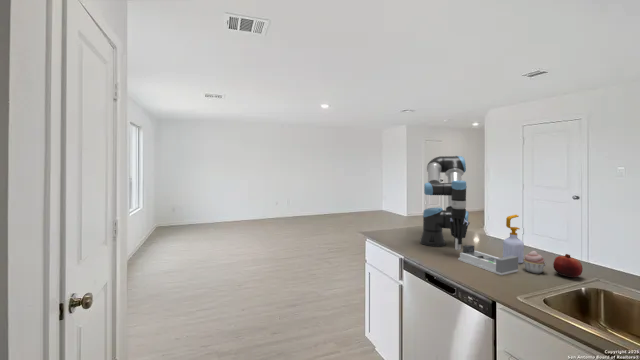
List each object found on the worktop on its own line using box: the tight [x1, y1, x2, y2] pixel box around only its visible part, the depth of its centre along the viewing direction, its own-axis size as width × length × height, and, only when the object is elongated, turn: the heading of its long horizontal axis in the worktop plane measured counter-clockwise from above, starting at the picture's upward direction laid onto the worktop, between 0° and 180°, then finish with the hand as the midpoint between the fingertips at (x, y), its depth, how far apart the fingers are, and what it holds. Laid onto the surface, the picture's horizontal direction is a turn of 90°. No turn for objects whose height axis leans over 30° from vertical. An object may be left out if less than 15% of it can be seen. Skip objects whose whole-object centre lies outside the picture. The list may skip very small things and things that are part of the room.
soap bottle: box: [502, 214, 525, 264], centre depth 153 cm, size 9×9×25 cm
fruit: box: [552, 253, 584, 278], centre depth 132 cm, size 11×10×10 cm
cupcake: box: [523, 250, 547, 274], centre depth 138 cm, size 9×9×10 cm
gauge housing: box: [457, 249, 519, 276], centre depth 147 cm, size 24×12×7 cm, turn 23°
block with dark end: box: [462, 244, 493, 262], centre depth 151 cm, size 13×9×6 cm
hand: (458, 249), depth 163 cm, fingers closed
